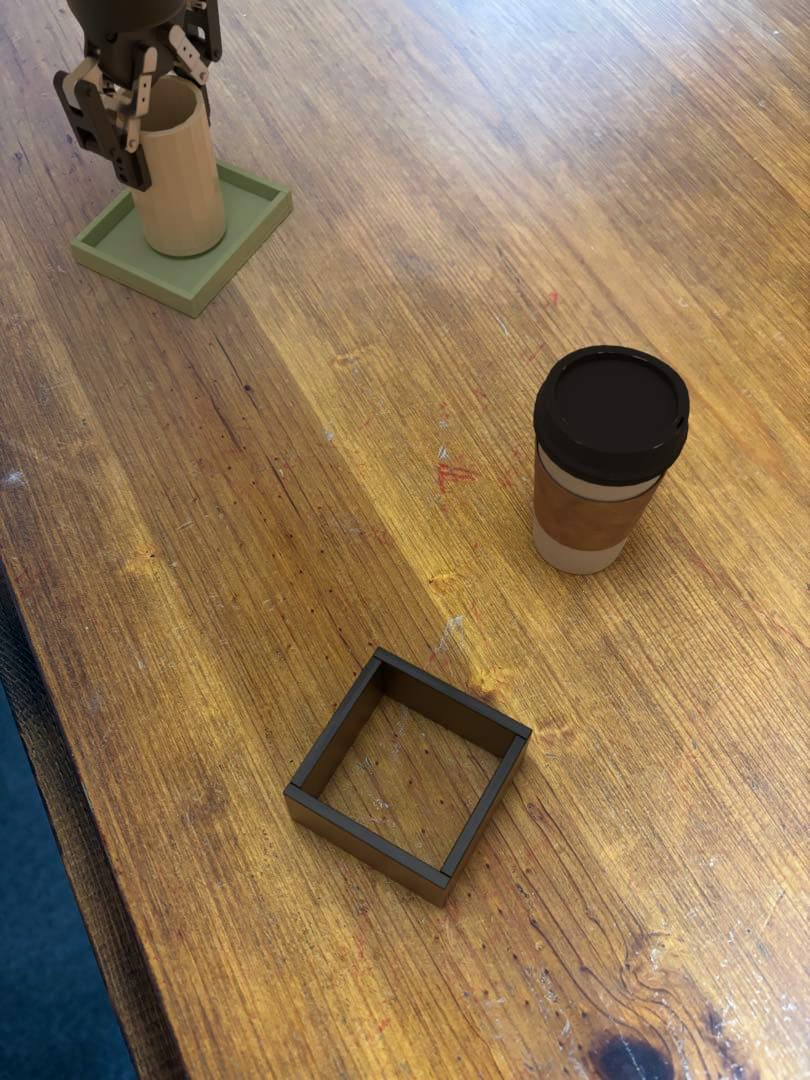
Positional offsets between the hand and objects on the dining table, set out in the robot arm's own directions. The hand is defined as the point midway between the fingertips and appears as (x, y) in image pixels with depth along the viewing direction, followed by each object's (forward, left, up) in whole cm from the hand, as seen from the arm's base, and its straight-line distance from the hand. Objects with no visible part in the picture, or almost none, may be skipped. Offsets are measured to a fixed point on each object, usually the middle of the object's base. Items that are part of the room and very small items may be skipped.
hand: (167, 155), depth 76 cm
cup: (0, 0, -7) cm, 7 cm away
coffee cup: (-9, -38, -8) cm, 40 cm away
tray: (0, 0, -8) cm, 8 cm away
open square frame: (-29, -37, -8) cm, 48 cm away
